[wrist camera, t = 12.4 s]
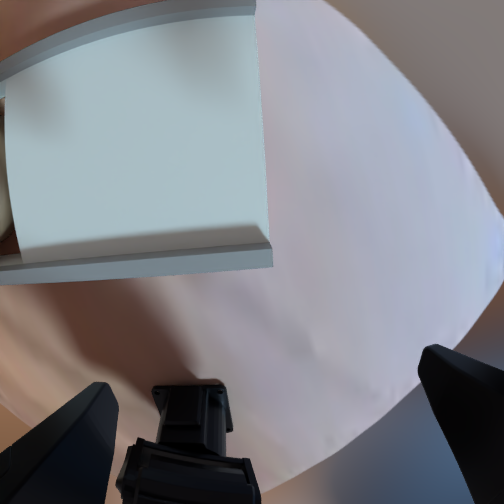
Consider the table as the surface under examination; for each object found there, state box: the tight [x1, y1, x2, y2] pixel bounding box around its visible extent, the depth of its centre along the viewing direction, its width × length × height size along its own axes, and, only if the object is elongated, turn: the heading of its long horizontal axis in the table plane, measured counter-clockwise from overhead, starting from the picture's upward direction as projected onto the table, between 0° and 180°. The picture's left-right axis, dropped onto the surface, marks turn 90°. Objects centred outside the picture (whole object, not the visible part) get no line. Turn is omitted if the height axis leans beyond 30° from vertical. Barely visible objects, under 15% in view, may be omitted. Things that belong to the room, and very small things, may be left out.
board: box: [0, 0, 273, 285], centre depth 14 cm, size 15×31×5 cm, turn 93°
